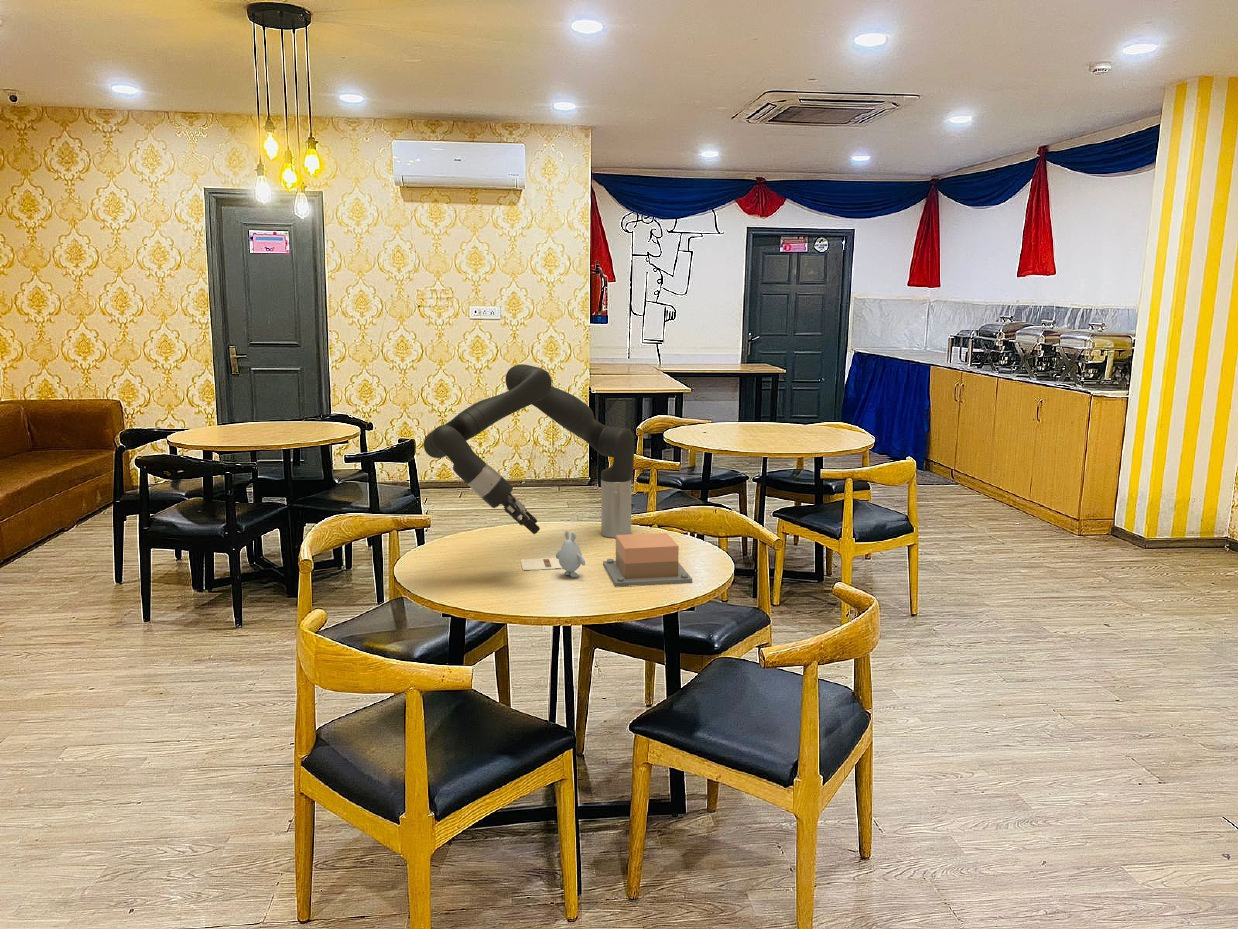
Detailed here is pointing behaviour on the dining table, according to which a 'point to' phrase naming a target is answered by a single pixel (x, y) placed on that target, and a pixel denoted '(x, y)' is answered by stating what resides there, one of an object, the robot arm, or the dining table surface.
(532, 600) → the dining table surface
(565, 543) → the toy figure
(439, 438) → the robot arm
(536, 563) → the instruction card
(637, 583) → the orange square pedestal
